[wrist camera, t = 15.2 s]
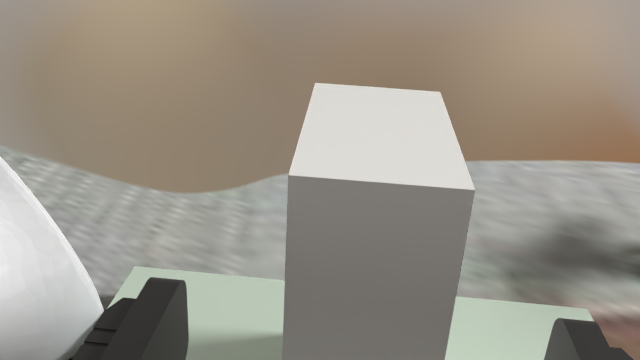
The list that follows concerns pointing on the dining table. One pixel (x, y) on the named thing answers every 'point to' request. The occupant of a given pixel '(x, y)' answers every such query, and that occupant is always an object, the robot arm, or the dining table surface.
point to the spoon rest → (39, 281)
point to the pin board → (268, 314)
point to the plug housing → (374, 226)
